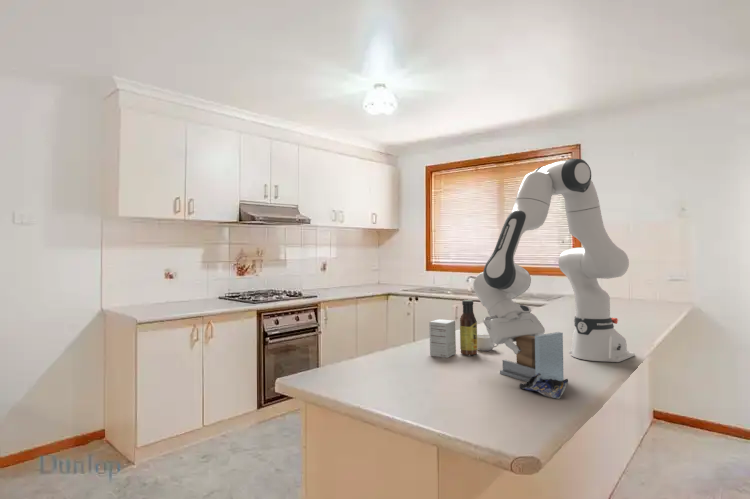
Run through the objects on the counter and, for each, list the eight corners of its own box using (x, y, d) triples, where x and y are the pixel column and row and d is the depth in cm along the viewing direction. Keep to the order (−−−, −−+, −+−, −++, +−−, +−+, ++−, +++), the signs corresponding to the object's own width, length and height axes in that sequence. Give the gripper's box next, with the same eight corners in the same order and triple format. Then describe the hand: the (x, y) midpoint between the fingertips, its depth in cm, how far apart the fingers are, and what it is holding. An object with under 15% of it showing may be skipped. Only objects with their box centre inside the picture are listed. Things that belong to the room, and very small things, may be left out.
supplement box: (438, 351, 174) (438, 318, 174) (456, 354, 169) (455, 320, 169) (429, 355, 168) (428, 321, 168) (447, 358, 163) (446, 323, 163)
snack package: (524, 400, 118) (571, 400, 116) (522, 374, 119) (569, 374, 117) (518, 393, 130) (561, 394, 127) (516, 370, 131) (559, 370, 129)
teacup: (470, 349, 176) (470, 336, 176) (482, 346, 182) (482, 333, 182) (492, 353, 169) (492, 339, 169) (504, 350, 174) (503, 336, 174)
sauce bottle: (477, 356, 166) (476, 301, 166) (460, 355, 167) (459, 301, 167) (477, 352, 172) (476, 299, 172) (460, 351, 173) (459, 299, 173)
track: (522, 369, 147) (521, 325, 147) (563, 380, 133) (562, 332, 133) (499, 373, 142) (499, 328, 142) (539, 385, 128) (539, 336, 128)
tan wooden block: (525, 369, 142) (525, 334, 142) (541, 374, 137) (540, 337, 137) (516, 371, 140) (516, 336, 140) (532, 376, 135) (531, 339, 135)
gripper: (485, 311, 139) (510, 348, 131) (532, 306, 149) (558, 340, 141) (476, 323, 143) (499, 361, 135) (522, 318, 153) (546, 352, 145)
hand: (530, 350), depth 138 cm, fingers open, 8 cm apart
